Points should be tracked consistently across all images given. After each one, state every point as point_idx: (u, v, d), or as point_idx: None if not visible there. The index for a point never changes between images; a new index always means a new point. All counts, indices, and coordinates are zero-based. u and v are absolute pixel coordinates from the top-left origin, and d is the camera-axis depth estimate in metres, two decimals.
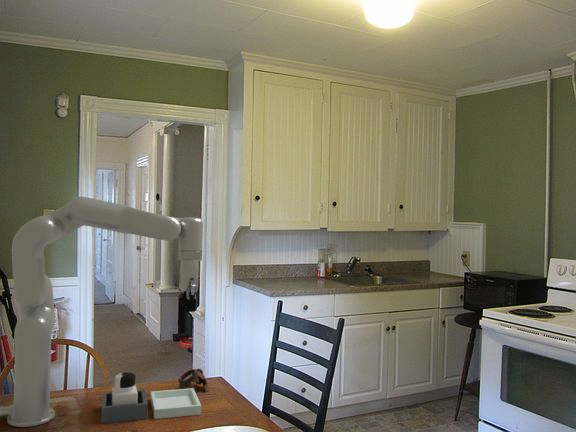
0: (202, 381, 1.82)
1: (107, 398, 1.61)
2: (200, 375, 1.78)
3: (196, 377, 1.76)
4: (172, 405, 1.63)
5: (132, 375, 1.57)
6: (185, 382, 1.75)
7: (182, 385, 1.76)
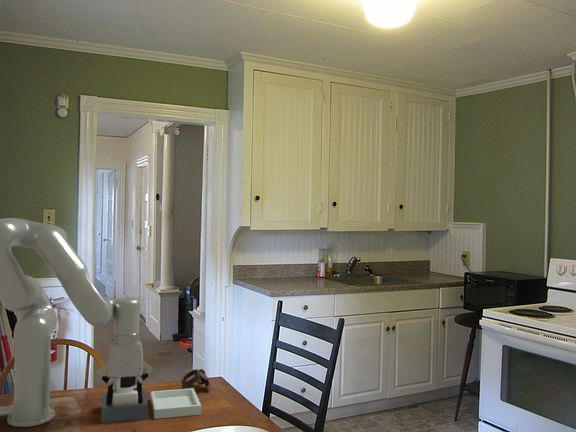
0: (204, 381, 1.82)
1: (107, 398, 1.61)
2: (203, 375, 1.78)
3: (199, 377, 1.76)
4: (172, 405, 1.63)
5: None
6: (188, 383, 1.74)
7: (185, 386, 1.75)
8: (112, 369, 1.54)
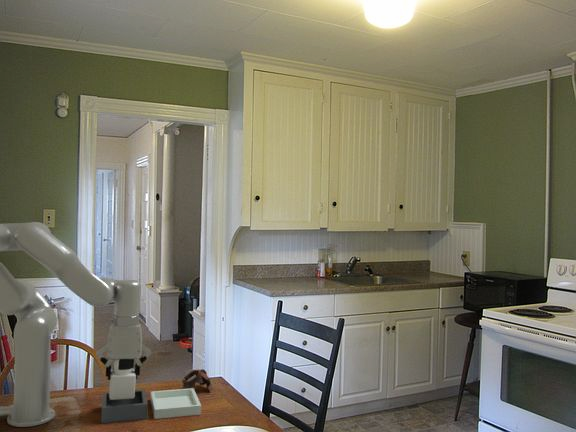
0: (206, 382, 1.82)
1: (107, 398, 1.61)
2: (204, 376, 1.77)
3: (200, 378, 1.76)
4: (172, 405, 1.63)
5: None
6: (189, 383, 1.74)
7: (186, 386, 1.75)
8: (111, 350, 1.53)
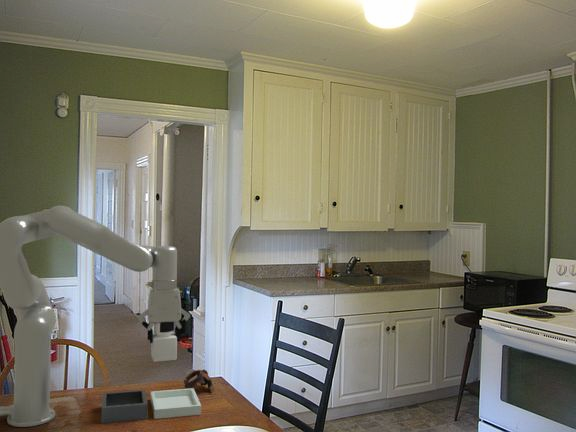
0: (207, 382, 1.82)
1: (107, 398, 1.61)
2: (205, 376, 1.77)
3: (202, 378, 1.76)
4: (172, 405, 1.63)
5: None
6: (191, 383, 1.74)
7: (188, 386, 1.75)
8: (152, 314, 1.58)
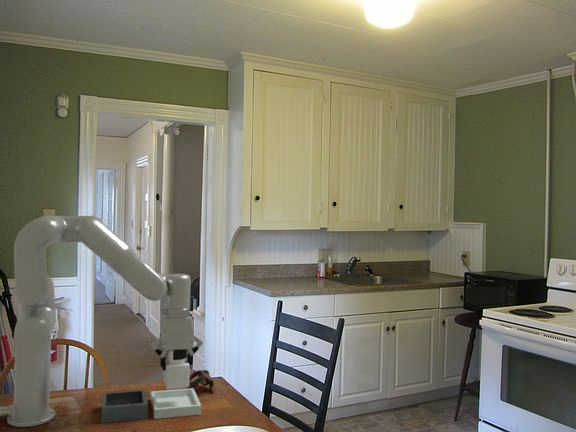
0: (209, 382, 1.81)
1: (107, 398, 1.61)
2: (207, 376, 1.77)
3: (203, 378, 1.75)
4: (172, 405, 1.63)
5: None
6: (192, 383, 1.74)
7: (189, 386, 1.74)
8: (165, 342, 1.60)
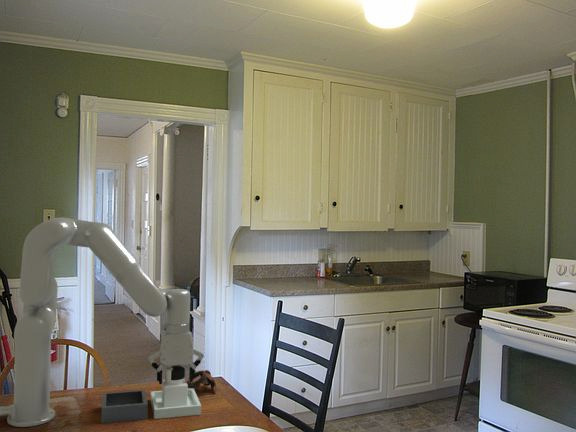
0: (210, 383, 1.81)
1: (107, 398, 1.61)
2: (209, 377, 1.77)
3: (205, 379, 1.75)
4: None
5: (182, 368, 1.63)
6: (194, 384, 1.73)
7: (191, 387, 1.74)
8: (165, 357, 1.60)
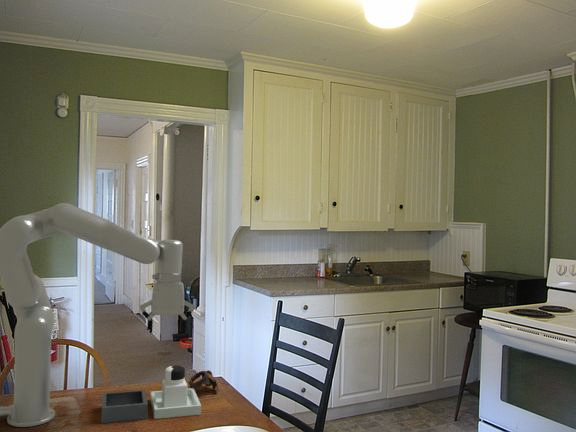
0: (212, 383, 1.81)
1: (107, 398, 1.61)
2: (211, 377, 1.76)
3: (207, 379, 1.75)
4: None
5: (182, 368, 1.63)
6: (196, 384, 1.73)
7: (193, 387, 1.74)
8: (155, 306, 1.60)
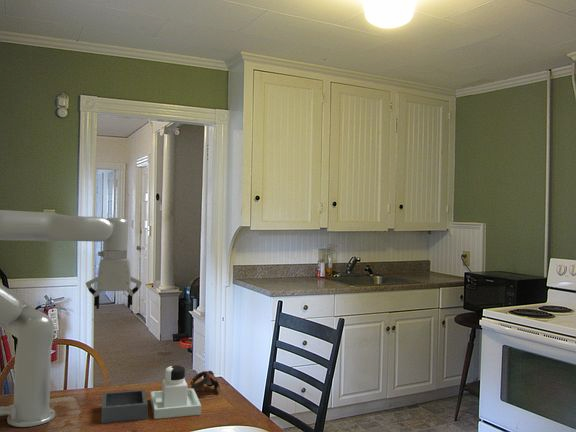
0: (213, 383, 1.81)
1: (107, 398, 1.61)
2: (212, 377, 1.76)
3: (209, 379, 1.74)
4: None
5: (182, 368, 1.63)
6: (198, 385, 1.73)
7: (195, 388, 1.73)
8: (101, 282, 1.64)
